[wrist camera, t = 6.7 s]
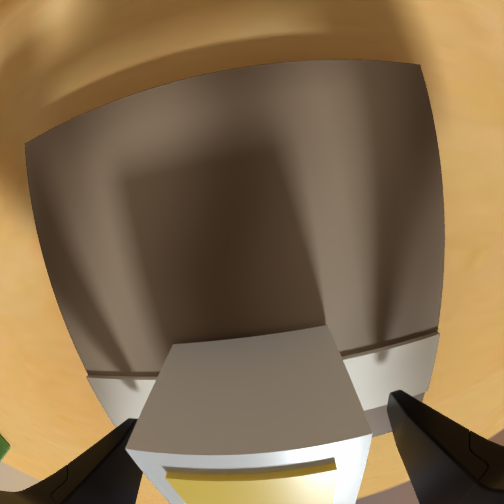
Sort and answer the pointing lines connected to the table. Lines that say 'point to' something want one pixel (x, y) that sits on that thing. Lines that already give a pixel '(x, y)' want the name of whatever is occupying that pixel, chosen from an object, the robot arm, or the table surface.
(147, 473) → the block
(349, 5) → the table surface
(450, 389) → the table surface
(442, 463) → the robot arm
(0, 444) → the ink box
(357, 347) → the subfloor board
